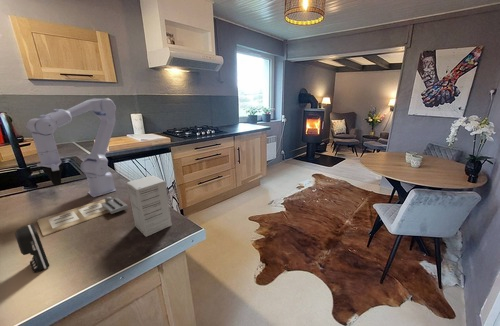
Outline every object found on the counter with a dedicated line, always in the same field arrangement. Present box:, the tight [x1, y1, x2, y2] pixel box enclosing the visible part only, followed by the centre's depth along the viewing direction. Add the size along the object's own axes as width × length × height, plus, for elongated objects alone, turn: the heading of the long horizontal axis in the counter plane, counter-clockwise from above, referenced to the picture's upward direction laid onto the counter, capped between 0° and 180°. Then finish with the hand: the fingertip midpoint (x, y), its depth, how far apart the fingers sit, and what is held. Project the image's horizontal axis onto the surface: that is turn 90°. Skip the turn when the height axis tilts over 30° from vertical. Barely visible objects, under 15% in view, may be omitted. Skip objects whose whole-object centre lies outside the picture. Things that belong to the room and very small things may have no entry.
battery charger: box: [14, 223, 50, 273], centre depth 56 cm, size 7×4×11 cm, turn 51°
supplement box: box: [126, 174, 173, 238], centre depth 72 cm, size 10×9×17 cm
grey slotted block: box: [101, 196, 129, 215], centre depth 86 cm, size 12×6×2 cm, turn 51°
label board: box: [36, 198, 111, 237], centre depth 82 cm, size 23×14×1 cm, turn 140°
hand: (57, 184), depth 85 cm, fingers closed
